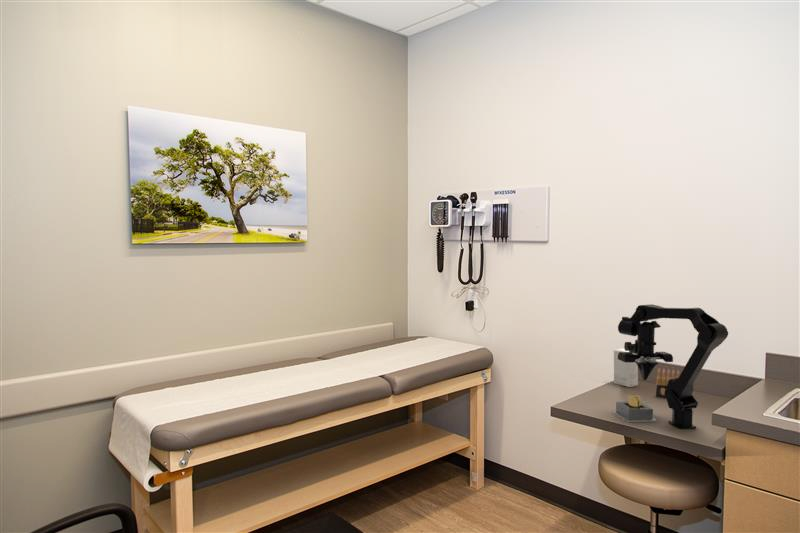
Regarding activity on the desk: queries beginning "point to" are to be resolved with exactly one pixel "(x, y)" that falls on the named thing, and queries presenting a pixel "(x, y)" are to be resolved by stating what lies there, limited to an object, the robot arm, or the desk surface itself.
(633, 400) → the bushing
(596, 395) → the desk surface
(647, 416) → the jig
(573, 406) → the desk surface
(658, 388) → the ammunition clip
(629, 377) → the skincare box
